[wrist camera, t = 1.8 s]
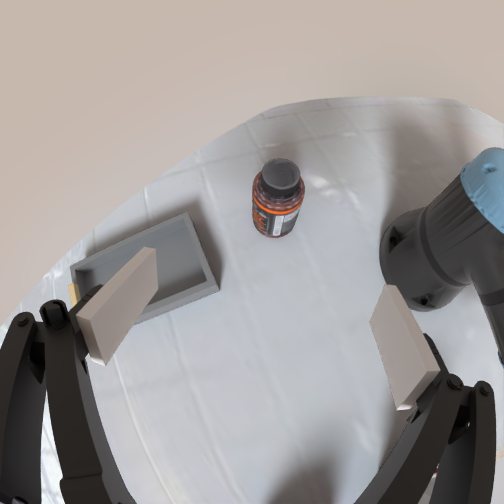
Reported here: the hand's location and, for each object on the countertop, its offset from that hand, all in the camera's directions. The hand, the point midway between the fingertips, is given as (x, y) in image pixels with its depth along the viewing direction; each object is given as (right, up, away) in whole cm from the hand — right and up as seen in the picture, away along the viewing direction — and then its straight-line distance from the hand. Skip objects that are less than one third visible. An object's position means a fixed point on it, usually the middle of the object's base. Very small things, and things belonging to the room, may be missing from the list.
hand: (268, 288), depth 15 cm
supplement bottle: (+2, +6, +23) cm, 24 cm away
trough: (-16, -2, +20) cm, 26 cm away
